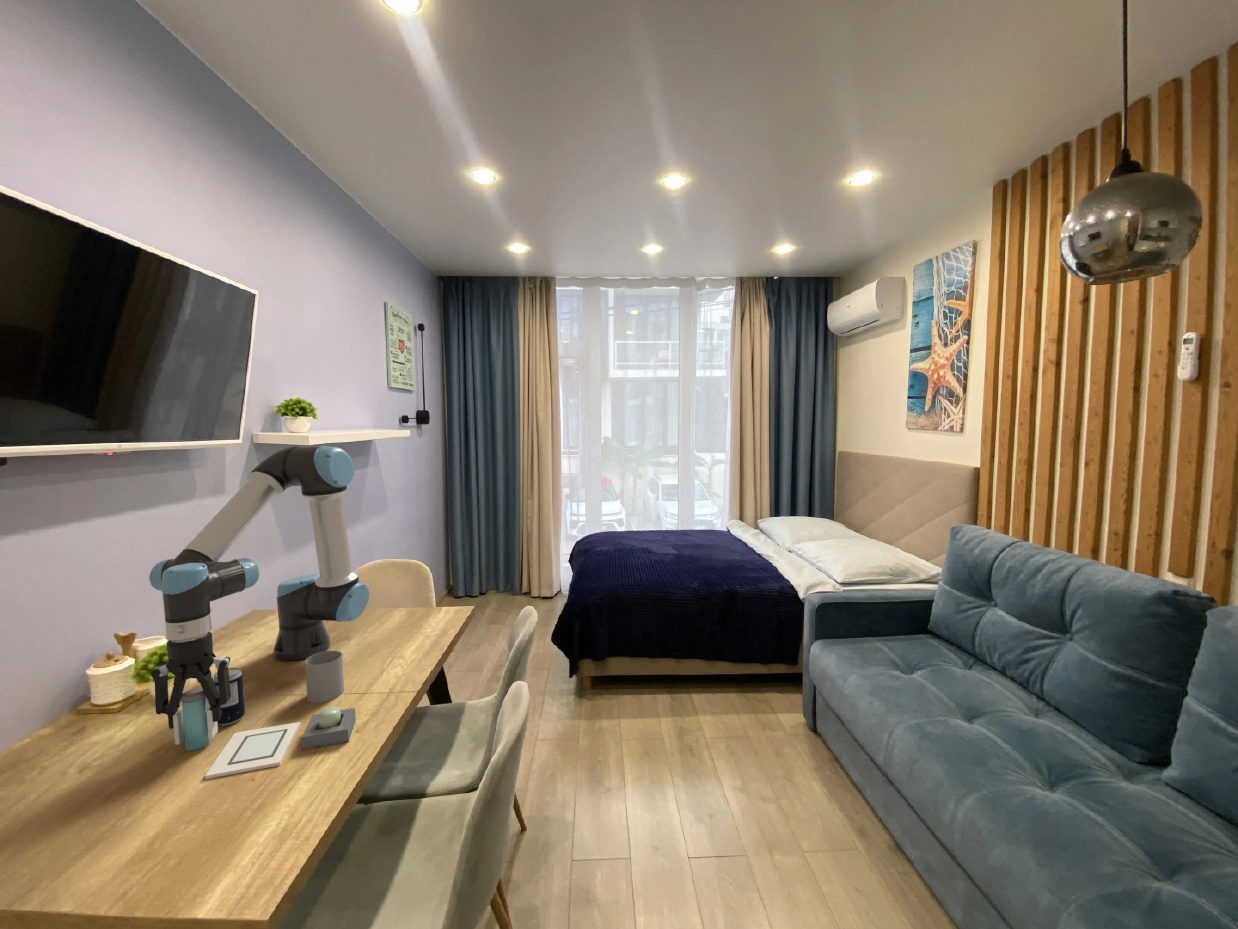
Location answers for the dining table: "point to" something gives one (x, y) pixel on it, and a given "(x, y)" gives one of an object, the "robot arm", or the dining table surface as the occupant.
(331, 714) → the button
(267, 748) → the picture board
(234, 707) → the beverage can
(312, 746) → the button housing
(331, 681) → the cup
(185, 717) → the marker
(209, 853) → the dining table surface
